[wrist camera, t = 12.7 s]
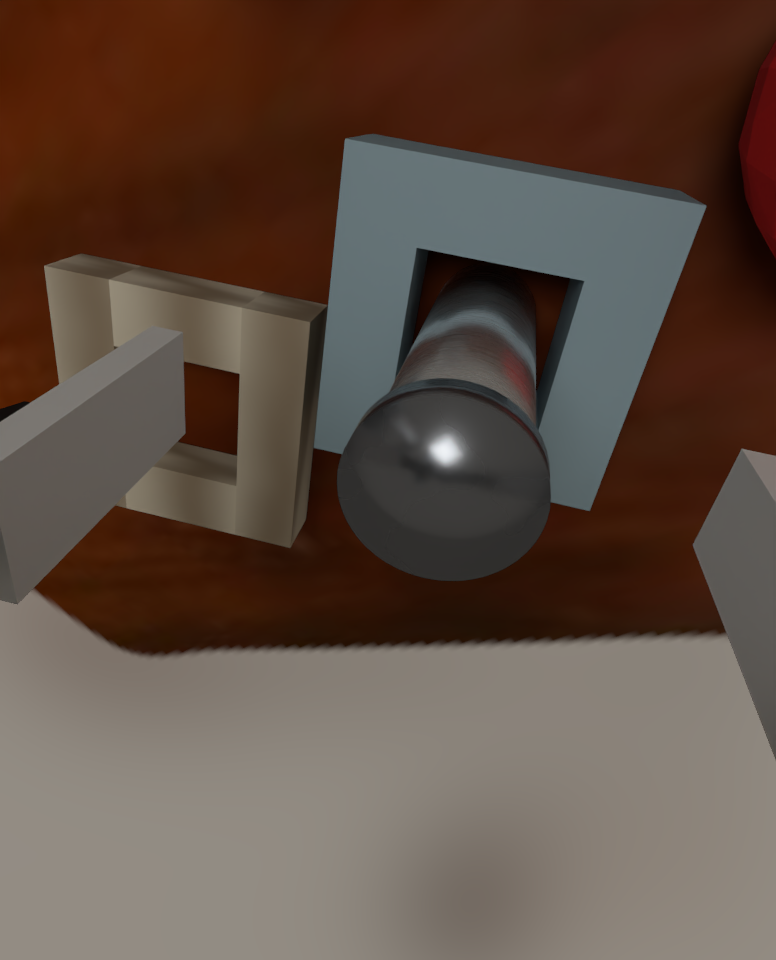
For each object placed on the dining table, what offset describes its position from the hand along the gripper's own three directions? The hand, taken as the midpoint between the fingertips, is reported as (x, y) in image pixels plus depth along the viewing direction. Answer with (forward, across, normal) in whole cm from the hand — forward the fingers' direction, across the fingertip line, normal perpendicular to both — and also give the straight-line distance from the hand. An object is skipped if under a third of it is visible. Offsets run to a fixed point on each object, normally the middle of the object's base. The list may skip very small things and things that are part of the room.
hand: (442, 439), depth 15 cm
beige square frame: (+12, -11, -7) cm, 18 cm away
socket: (+12, +1, 0) cm, 12 cm away
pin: (+12, +1, 0) cm, 12 cm away
